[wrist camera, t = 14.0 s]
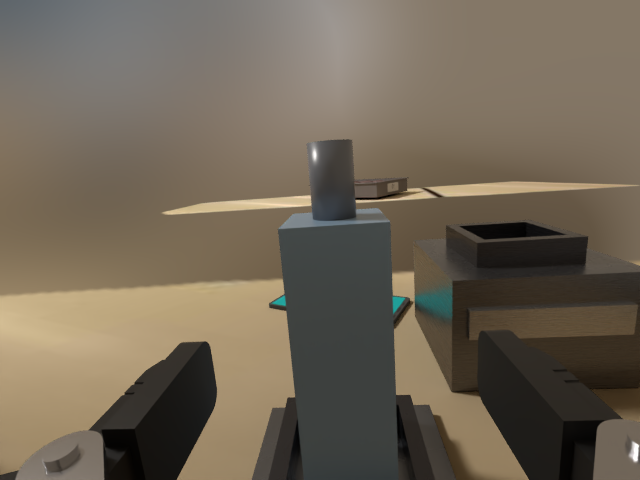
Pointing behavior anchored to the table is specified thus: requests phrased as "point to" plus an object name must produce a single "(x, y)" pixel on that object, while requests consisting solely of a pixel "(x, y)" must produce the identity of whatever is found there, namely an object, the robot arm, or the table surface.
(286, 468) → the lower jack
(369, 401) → the plug
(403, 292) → the table surface
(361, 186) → the organizer tray
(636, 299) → the box with square opening
